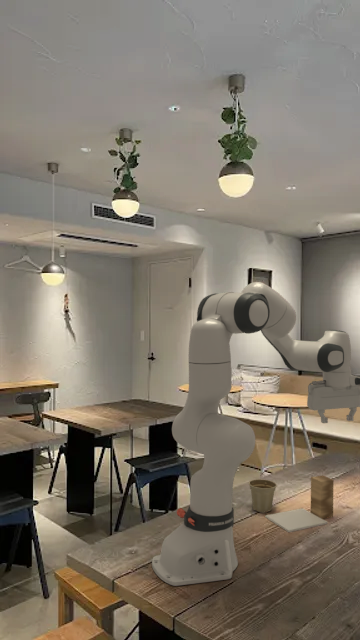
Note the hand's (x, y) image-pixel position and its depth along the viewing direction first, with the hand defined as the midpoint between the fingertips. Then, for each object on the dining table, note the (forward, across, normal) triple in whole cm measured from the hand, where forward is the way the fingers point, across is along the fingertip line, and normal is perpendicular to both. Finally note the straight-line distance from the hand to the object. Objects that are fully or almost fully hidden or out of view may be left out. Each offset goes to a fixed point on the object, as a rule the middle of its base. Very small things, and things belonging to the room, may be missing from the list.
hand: (337, 421), depth 158 cm
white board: (+30, -16, -1) cm, 34 cm away
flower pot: (+30, -22, +10) cm, 39 cm away
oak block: (+30, -6, +1) cm, 31 cm away
